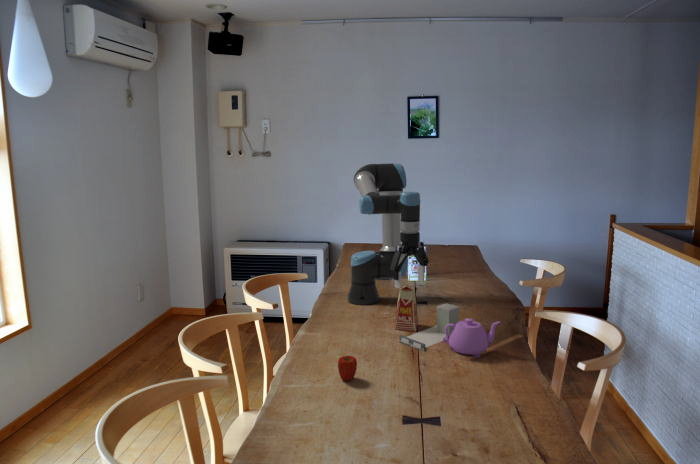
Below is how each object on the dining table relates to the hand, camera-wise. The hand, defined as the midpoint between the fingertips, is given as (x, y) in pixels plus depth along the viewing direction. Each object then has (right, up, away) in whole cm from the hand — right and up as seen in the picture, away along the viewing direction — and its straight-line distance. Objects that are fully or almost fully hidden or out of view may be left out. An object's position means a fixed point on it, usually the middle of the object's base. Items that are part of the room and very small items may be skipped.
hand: (409, 284), depth 213 cm
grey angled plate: (+8, -20, -5) cm, 23 cm away
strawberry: (-24, -27, -39) cm, 53 cm away
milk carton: (-1, -19, +5) cm, 20 cm away
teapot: (+20, -23, -18) cm, 36 cm away
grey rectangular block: (+15, -18, -1) cm, 23 cm away
